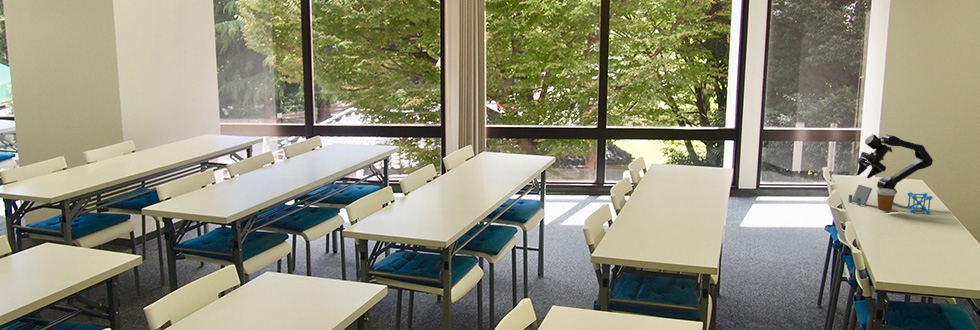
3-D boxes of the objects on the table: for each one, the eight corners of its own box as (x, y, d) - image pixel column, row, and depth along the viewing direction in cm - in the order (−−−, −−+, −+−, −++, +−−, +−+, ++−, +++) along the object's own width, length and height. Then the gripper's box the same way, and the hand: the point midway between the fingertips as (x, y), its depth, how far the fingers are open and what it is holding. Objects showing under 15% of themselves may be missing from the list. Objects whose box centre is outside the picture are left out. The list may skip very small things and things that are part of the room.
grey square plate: (852, 202, 444) (860, 185, 443) (864, 206, 435) (872, 188, 434) (851, 201, 444) (858, 184, 443) (863, 205, 435) (871, 188, 434)
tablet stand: (860, 202, 448) (861, 192, 447) (876, 207, 435) (877, 197, 434) (844, 203, 445) (845, 193, 444) (861, 208, 432) (861, 198, 431)
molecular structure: (931, 214, 420) (933, 196, 418) (911, 213, 422) (913, 195, 420) (925, 209, 430) (926, 192, 428) (905, 209, 432) (907, 191, 430)
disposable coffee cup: (889, 209, 430) (892, 188, 428) (897, 213, 421) (899, 192, 419) (872, 209, 431) (874, 187, 429) (878, 213, 422) (880, 191, 420)
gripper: (858, 143, 445) (842, 165, 446) (879, 148, 427) (862, 171, 428) (872, 154, 448) (856, 176, 449) (893, 159, 430) (876, 182, 430)
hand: (862, 176), depth 439 cm, fingers open, 9 cm apart
